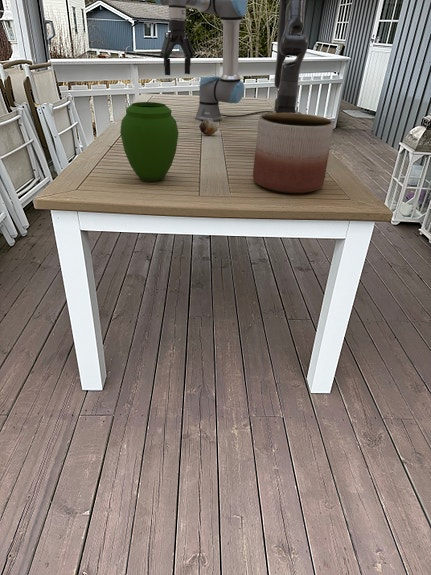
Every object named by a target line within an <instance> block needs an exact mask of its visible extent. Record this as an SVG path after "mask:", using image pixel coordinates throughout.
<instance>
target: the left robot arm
mask: <svg viewBox="0 0 431 575" xmlns="http://www.w3.org/2000/svg"><path fill="white" fill-rule="evenodd" d="M153 1H154V2H155V4H157V5H162V6H163V5H166V6H168V19H169V21H168V30H169V31H170V32H164V39H163V43H162V47H161V49H160V53H159V56H160V58H161V59H163V67H164V75H165V76H171V58H170V56H171V54H172V52H173V51H174V48H175V46H178V45H179V46H180V48H181V50H182V52H183V54H184V56H185V57H184V74H185V75H190V74H191V65H192V64H191V61H192V59H193V58H194V57H195V53H194V50H193V45H192V42H191V36H190V33H189V32H188V33H187V32H186V31H187V21H186V19H187V8H188V9H196V11H198V12H202V13H206V14H209V15H212V16H219V21H220V22H221V23H222V74H221V76H206V77H201V78H200V80H199V86H198V87H199V94H198V95H199V100H198V101H199V103H198V104H199V105H198V107H197V111H196V114H195V119H196V120H199V121H202V122H203V121H205V120H208V119H212V120H213V121H214V122H218V121H221V120H222V117H227V118H228V117H229V118H240V117H246V116H252V115H255V114H261V113H262V114H265V113H269V111H271V112H272V111H273V110H259V111H254V112H250V113H246V114H234V115H232V114H231V115H230V114H224V113H223V114H222V113H221V110H220V107H219V105H220V103H225V104H226V103H227V104H238V103H240V102H241V100H242V98H243V96H244V92H245V84H244V82H243V81H241V78H242V77H241V76H240V75H239V52H240V51H239V50H240V49H239V48H240V46H239V45H240V23H241V22H242V21H243V17H245V15H246V13H247V10H248V1H247V0H153ZM219 102H220V103H219Z"/></svg>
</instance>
